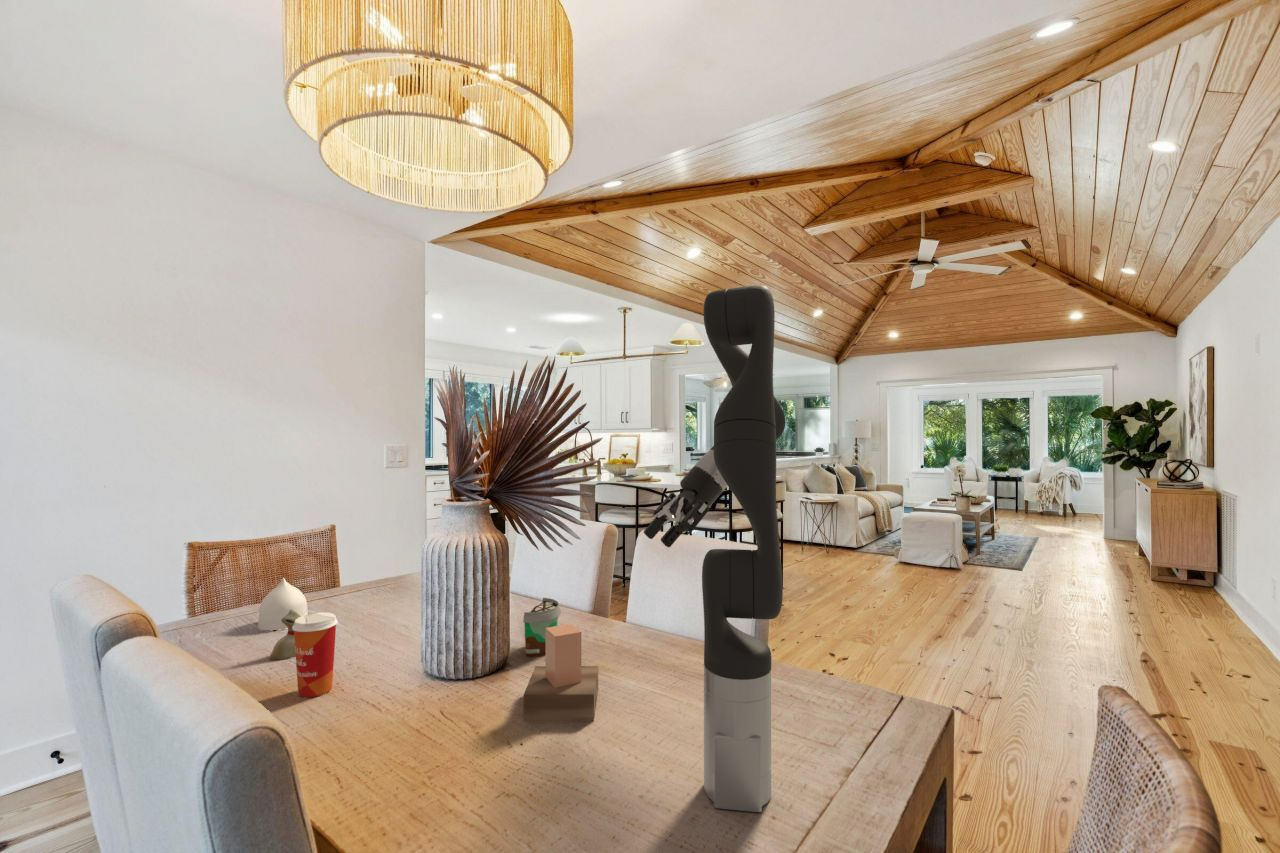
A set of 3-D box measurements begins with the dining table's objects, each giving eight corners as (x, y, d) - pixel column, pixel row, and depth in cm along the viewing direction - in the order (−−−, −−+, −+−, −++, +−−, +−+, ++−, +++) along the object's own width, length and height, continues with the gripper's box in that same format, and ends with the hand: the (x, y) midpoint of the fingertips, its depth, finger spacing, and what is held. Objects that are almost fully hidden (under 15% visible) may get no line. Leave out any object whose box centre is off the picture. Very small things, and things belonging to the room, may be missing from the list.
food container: (550, 661, 128) (550, 614, 128) (523, 659, 129) (523, 613, 129) (568, 641, 140) (568, 598, 140) (543, 639, 141) (543, 596, 141)
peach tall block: (581, 682, 107) (581, 631, 107) (554, 687, 104) (554, 636, 104) (571, 671, 111) (571, 623, 111) (545, 677, 109) (545, 627, 109)
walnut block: (593, 723, 102) (593, 694, 102) (523, 723, 102) (523, 694, 102) (598, 692, 114) (598, 666, 114) (535, 692, 114) (535, 666, 114)
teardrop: (292, 631, 147) (291, 582, 147) (247, 631, 147) (247, 582, 147) (316, 617, 158) (316, 571, 158) (275, 616, 158) (275, 571, 158)
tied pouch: (310, 656, 131) (310, 610, 131) (268, 661, 128) (268, 614, 128) (313, 647, 136) (313, 603, 136) (273, 652, 133) (273, 607, 133)
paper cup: (286, 691, 113) (286, 618, 113) (329, 679, 119) (329, 609, 119) (300, 705, 108) (300, 627, 108) (344, 691, 113) (344, 617, 113)
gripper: (681, 462, 123) (629, 521, 119) (714, 467, 110) (657, 533, 106) (704, 487, 125) (653, 546, 121) (739, 494, 112) (684, 560, 108)
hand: (655, 540), depth 114 cm, fingers open, 8 cm apart
